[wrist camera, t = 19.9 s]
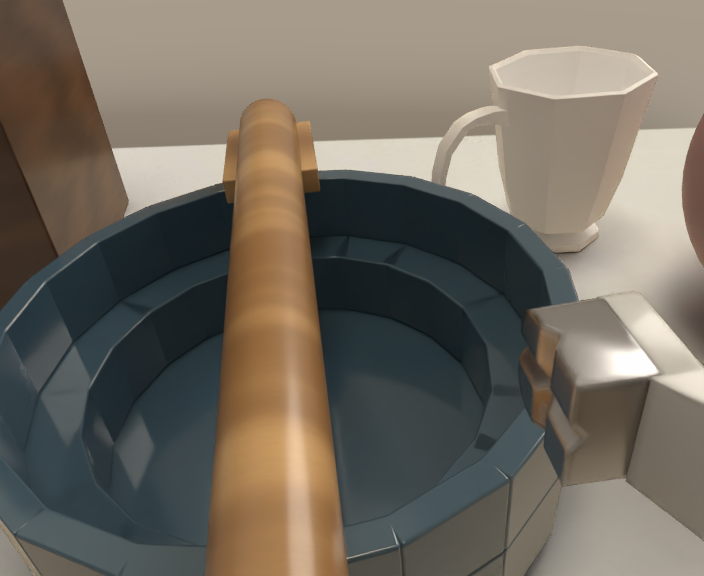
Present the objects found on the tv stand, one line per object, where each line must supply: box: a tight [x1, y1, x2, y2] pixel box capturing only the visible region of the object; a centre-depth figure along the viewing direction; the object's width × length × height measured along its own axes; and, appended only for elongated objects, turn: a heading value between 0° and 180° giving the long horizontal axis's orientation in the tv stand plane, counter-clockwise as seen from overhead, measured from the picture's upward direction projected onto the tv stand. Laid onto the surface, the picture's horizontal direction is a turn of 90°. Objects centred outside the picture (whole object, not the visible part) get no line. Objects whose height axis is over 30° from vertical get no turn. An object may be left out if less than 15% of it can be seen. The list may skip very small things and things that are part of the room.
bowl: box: [0, 170, 579, 576], centre depth 21 cm, size 18×18×6 cm
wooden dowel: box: [204, 99, 349, 576], centre depth 19 cm, size 22×4×2 cm, turn 7°
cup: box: [432, 46, 659, 253], centre depth 29 cm, size 7×10×8 cm
